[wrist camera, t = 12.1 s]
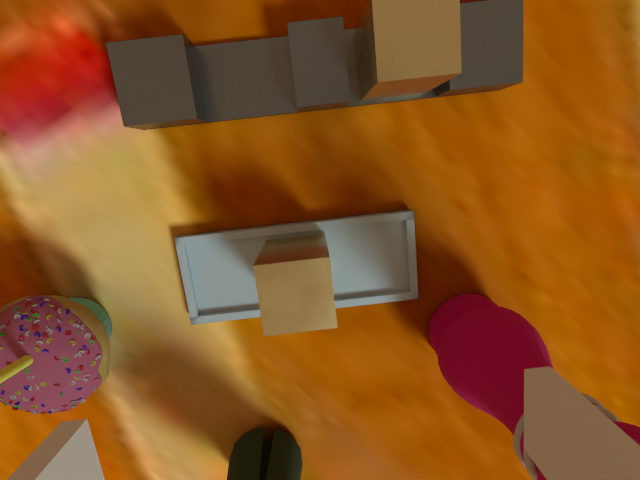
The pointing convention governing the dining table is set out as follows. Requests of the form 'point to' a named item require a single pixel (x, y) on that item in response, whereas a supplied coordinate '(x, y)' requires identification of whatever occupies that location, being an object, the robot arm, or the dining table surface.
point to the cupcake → (52, 352)
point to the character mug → (265, 457)
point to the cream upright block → (407, 47)
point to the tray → (341, 235)
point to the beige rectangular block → (295, 285)
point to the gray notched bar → (293, 70)
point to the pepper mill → (494, 362)
